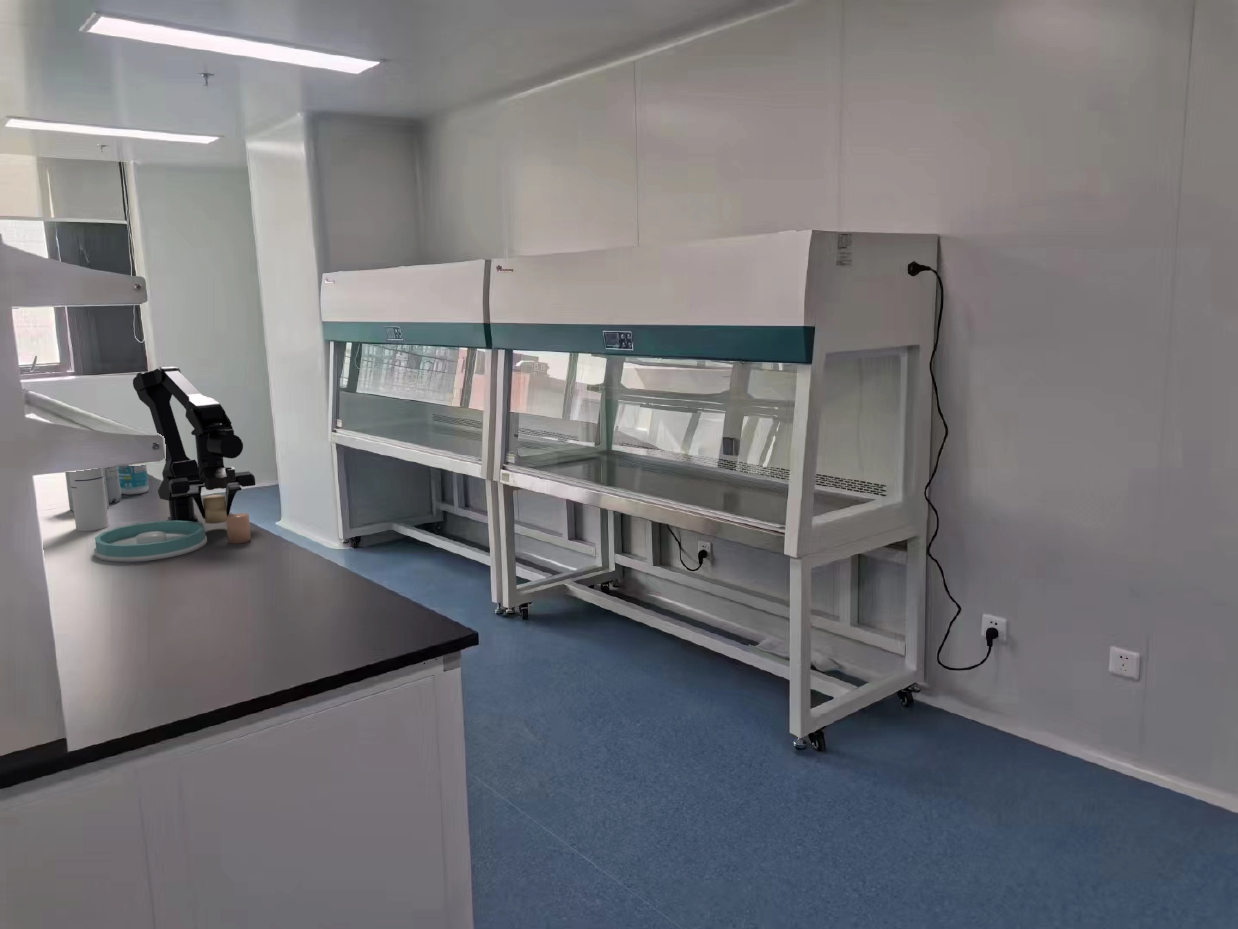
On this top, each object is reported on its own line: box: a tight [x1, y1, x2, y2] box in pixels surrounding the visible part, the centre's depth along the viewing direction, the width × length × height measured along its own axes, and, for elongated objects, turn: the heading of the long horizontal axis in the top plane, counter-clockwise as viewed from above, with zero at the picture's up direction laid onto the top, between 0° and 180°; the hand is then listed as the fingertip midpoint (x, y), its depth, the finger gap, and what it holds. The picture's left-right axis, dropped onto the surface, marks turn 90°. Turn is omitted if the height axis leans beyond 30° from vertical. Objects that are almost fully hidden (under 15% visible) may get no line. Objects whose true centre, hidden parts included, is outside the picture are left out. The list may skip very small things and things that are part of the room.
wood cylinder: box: [202, 494, 227, 525], centre depth 222 cm, size 5×5×6 cm
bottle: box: [105, 466, 122, 504], centre depth 252 cm, size 7×7×20 cm
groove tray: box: [93, 520, 208, 563], centre depth 207 cm, size 23×23×4 cm
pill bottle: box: [117, 464, 150, 496], centre depth 264 cm, size 8×7×14 cm
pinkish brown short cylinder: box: [225, 513, 252, 544], centre depth 212 cm, size 5×5×6 cm
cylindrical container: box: [69, 468, 110, 532], centre depth 224 cm, size 7×7×25 cm
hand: (215, 516), depth 222 cm, fingers closed on wood cylinder, 5 cm apart
